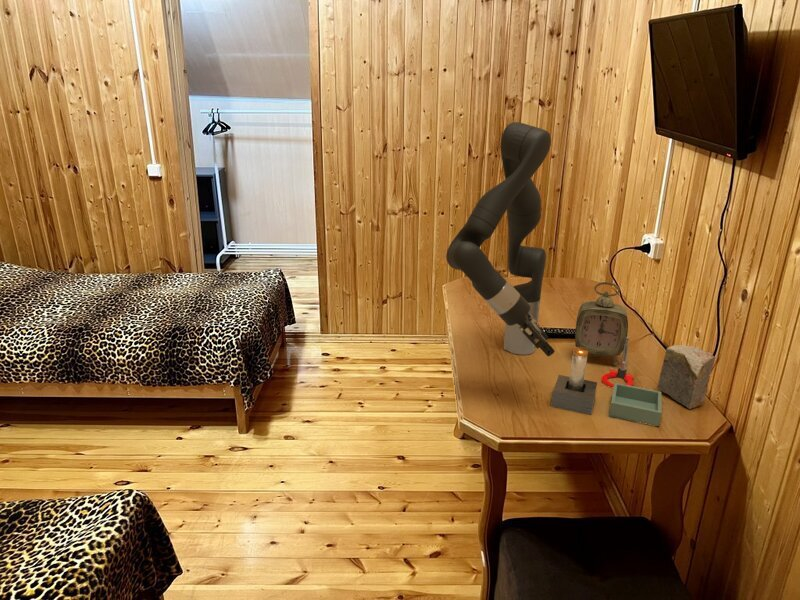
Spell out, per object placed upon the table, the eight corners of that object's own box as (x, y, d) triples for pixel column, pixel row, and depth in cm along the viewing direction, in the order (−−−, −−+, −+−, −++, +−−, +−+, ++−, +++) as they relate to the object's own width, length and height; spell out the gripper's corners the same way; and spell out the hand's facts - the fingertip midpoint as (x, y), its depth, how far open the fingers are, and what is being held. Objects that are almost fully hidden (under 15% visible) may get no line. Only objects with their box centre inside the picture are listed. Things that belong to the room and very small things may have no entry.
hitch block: (551, 406, 149) (552, 390, 147) (557, 389, 157) (558, 374, 156) (591, 415, 145) (593, 399, 143) (594, 397, 154) (597, 382, 152)
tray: (608, 416, 145) (611, 402, 143) (612, 395, 155) (614, 382, 153) (658, 427, 140) (661, 413, 139) (658, 405, 150) (661, 391, 149)
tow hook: (627, 394, 157) (637, 380, 164) (634, 352, 152) (643, 339, 159) (597, 385, 161) (607, 372, 168) (602, 344, 156) (613, 332, 163)
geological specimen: (655, 392, 157) (665, 342, 152) (671, 388, 160) (682, 338, 155) (688, 410, 148) (699, 358, 143) (704, 406, 150) (716, 354, 145)
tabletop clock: (571, 361, 174) (581, 283, 166) (572, 349, 182) (582, 274, 174) (621, 369, 170) (635, 289, 161) (620, 356, 178) (633, 280, 170)
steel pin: (565, 403, 150) (572, 351, 145) (567, 397, 153) (574, 346, 148) (579, 406, 149) (587, 354, 144) (581, 400, 152) (588, 348, 147)
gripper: (523, 302, 135) (566, 349, 139) (515, 284, 149) (554, 327, 152) (498, 322, 137) (541, 368, 141) (493, 302, 151) (532, 344, 154)
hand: (548, 346), depth 146 cm, fingers open, 8 cm apart
